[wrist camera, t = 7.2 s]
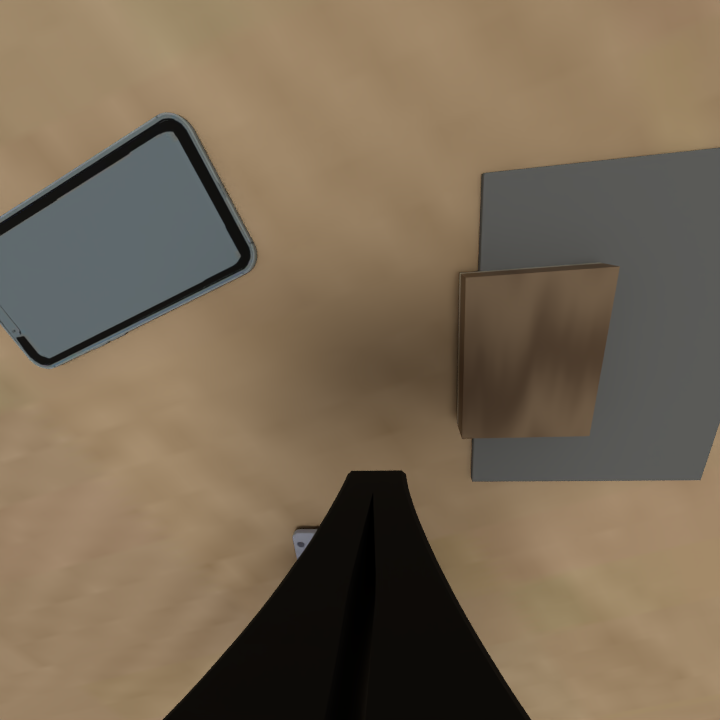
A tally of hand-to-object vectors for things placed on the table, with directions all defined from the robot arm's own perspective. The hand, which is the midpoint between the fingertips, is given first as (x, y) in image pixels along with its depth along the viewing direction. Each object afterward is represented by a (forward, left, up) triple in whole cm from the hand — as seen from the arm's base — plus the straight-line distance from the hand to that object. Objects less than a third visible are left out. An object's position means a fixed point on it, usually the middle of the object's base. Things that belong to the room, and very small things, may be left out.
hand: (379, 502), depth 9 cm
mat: (0, -11, -10) cm, 15 cm away
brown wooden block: (0, -4, -9) cm, 10 cm away
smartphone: (+6, +14, -11) cm, 19 cm away
